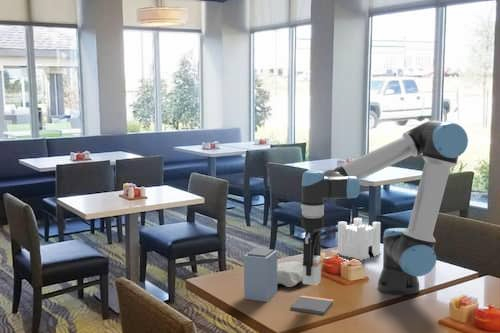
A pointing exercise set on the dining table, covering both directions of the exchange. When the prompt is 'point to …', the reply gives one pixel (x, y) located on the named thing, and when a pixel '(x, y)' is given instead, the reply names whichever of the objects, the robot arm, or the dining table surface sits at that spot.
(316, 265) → the cartridge
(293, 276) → the rock
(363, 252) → the castle model
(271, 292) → the box
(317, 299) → the mat
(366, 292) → the dining table surface
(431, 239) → the robot arm
